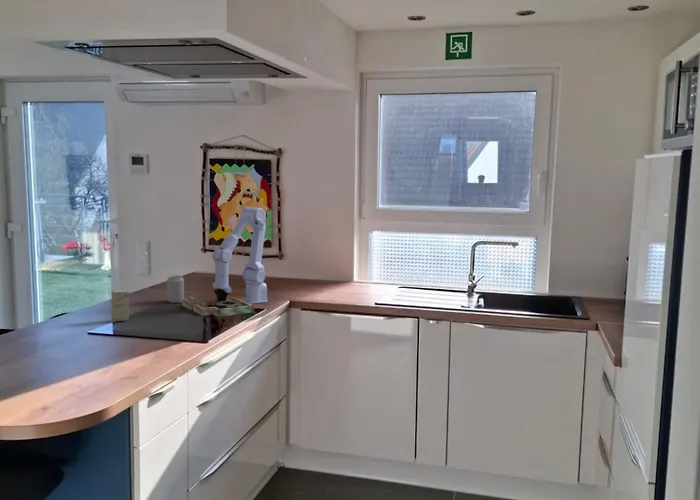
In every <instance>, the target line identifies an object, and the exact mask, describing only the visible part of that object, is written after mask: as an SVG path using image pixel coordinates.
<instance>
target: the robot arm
mask: <svg viewBox="0 0 700 500" xmlns="http://www.w3.org/2000/svg"><path fill="white" fill-rule="evenodd" d="M239 213H240V214H239V219H238V221H237V223H236V225H235V226H234V228H233V230H232V232H231V233H229V234H227V235H225V237H224V239H223V241H222V242H221V244H220V245H219V247H218V248H216V249H215V250H214V251H213V254H212V256H211V257H212V259H213V261H214V268H215V269H214V270H215V271H214V273H215V274H214V276H215V277H214V279H215V280H214V282H213V283H212V288H214V291H213V292H214V294H215V296H216V299H217V303H218V302H221V301H226V298H227V296H228V295H229V294H230V293H232V287H230V284H229V279H230V278H229V274H230V273H229V268H230V267H229V262H230V261H231V259H232V258H233V257H232V256H233V251H234V249H235V248H236V246H237V245H238V243H239V237H240V236H241V235H242V233H243V232H244V230H245V229H246V228H247V227H248V226H251V227H252V236H251V243H250V251H249V259H248V262H247V263H246V264H245V265H244V269H243V271H242V275H241V276H242V279H243V281H244V283H245V299H242V300H241V301H244V302H246V303H249V304H252V305H254V304H260V303H268V287H267V286H268V285H267V283H265V282H264V281H265V279H266V272H265V270H266V269H265V266H264V265H263V264H262V258H263V249H264V241H265V234H266V227H267V225H266V216H267V212H266V211H265V210H264V209H263V208H261V207H252V206H251V207H250V206H245V207H243V209H242V210H241V212H239Z"/></svg>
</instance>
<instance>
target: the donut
mask: <svg viewBox="0 0 700 500" xmlns="http://www.w3.org/2000/svg"><path fill="white" fill-rule="evenodd" d="M241 306H242V304H241V303H240V302H237V301H221V302H218V301H217V303H216V304H215V306H214V307H216V308H218V309H224V308H232V307H241Z"/></svg>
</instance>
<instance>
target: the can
mask: <svg viewBox="0 0 700 500" xmlns="http://www.w3.org/2000/svg"><path fill="white" fill-rule="evenodd" d="M166 290H167V291H166V292H167V293H166V299H167V302H168V303H170V304H180V303H183V299H185V279H184V277H183V275H179V274H178V275H177V274H176V275H175V274H174V275H173V274H172V275H169V276H168V278H167V279H166Z"/></svg>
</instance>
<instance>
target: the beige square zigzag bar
mask: <svg viewBox="0 0 700 500" xmlns="http://www.w3.org/2000/svg"><path fill="white" fill-rule="evenodd" d="M226 301H237V302H240V303H241V304H242V306H241V307H232V308H224V309H218V308H216V307H215V306H210V307H208V303H207V302H205V301H197V298H196V297H193V296H191V295H190V296H189V295H188V297H187V298H184V299H183V301H182V307H183V308H186V309H188V310H190V311H193V312H194V313H197V314H198V315H200V316H202V317H204V316H210V315H212V316H215V317H218V318H220V317H227V316H235V315H243V314H250V313H251V314H253V313H255V305H254V304H249V303H247V302H244V301H242V300H241V299H239V298H236V297H234V296H231V295H229V294H228V296H227V298H226Z"/></svg>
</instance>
